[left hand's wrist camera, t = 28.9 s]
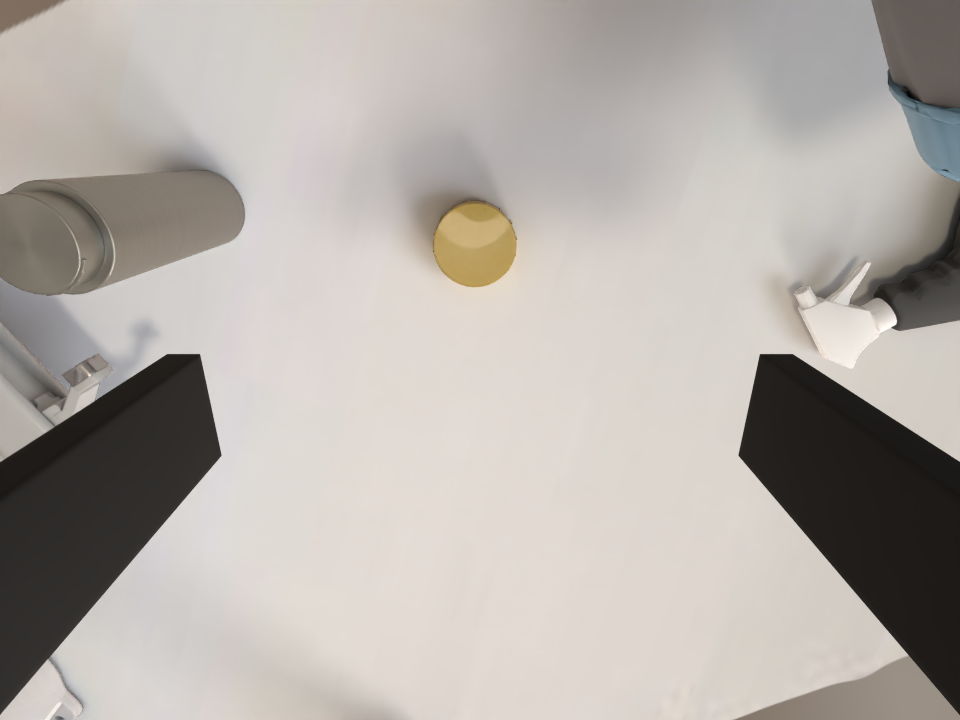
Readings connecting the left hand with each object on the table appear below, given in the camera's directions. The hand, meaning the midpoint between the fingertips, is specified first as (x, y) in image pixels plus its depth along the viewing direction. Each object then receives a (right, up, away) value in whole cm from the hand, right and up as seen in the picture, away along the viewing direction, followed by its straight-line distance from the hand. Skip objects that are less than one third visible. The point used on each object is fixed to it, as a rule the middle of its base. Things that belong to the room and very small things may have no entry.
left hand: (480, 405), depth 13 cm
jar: (-19, +12, +24) cm, 32 cm away
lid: (0, +9, +23) cm, 25 cm away
